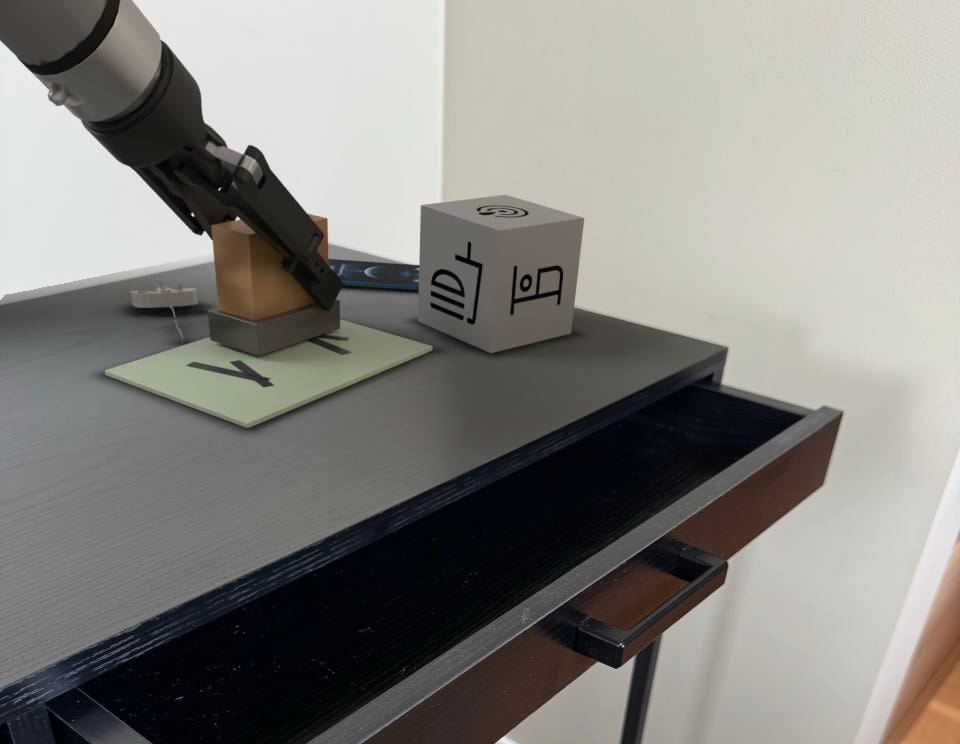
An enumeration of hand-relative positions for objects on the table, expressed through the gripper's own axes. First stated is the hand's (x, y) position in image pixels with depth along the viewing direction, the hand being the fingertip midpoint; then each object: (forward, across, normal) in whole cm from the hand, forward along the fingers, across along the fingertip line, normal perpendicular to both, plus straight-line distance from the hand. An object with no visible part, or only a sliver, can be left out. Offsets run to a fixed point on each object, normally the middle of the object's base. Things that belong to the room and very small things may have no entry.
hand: (305, 288), depth 83 cm
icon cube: (+12, +11, +6) cm, 18 cm away
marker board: (-2, +3, -8) cm, 9 cm away
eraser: (0, 0, -5) cm, 5 cm away
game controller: (-2, -11, -7) cm, 13 cm away
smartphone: (+14, -7, +9) cm, 18 cm away
